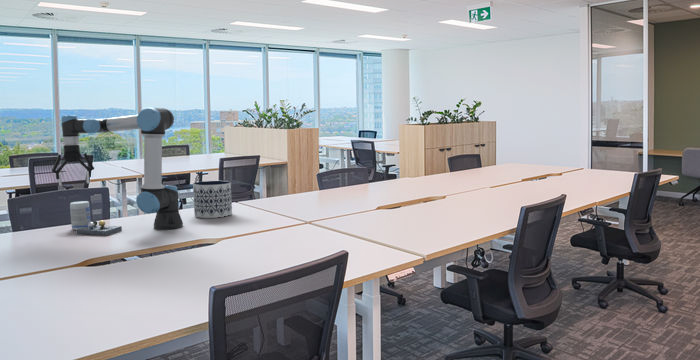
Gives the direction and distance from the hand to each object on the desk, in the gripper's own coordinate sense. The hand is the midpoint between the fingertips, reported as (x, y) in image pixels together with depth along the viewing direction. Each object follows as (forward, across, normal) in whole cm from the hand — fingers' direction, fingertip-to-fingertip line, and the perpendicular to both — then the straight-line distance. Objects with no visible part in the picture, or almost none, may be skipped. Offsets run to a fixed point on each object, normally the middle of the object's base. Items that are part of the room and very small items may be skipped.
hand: (74, 184), depth 286 cm
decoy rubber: (+21, -6, +9) cm, 24 cm away
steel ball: (+21, -4, +14) cm, 25 cm away
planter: (+25, -74, +10) cm, 79 cm away
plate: (+25, -7, +16) cm, 30 cm away
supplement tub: (+25, -2, -2) cm, 25 cm away
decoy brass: (+21, -9, +13) cm, 26 cm away
